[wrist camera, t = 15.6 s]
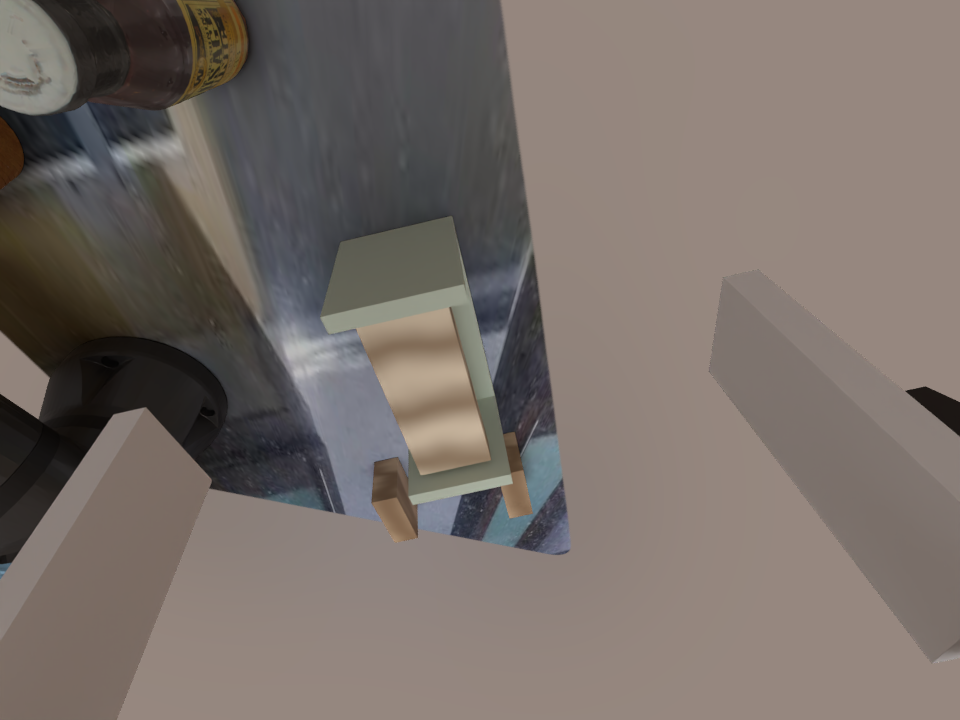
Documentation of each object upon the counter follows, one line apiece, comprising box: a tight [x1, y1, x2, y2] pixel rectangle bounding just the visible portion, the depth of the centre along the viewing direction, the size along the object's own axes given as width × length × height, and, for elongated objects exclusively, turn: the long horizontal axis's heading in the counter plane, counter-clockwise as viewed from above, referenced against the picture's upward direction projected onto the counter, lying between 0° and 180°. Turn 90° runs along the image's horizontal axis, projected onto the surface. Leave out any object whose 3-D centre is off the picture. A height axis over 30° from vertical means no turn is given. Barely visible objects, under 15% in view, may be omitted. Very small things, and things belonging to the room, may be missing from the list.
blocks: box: [372, 432, 533, 543], centre depth 60 cm, size 18×9×6 cm, turn 101°
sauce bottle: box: [0, 0, 249, 116], centre depth 24 cm, size 7×6×20 cm
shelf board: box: [356, 307, 491, 475], centre depth 41 cm, size 18×7×2 cm, turn 11°
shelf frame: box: [320, 216, 513, 505], centre depth 44 cm, size 23×10×12 cm, turn 11°
